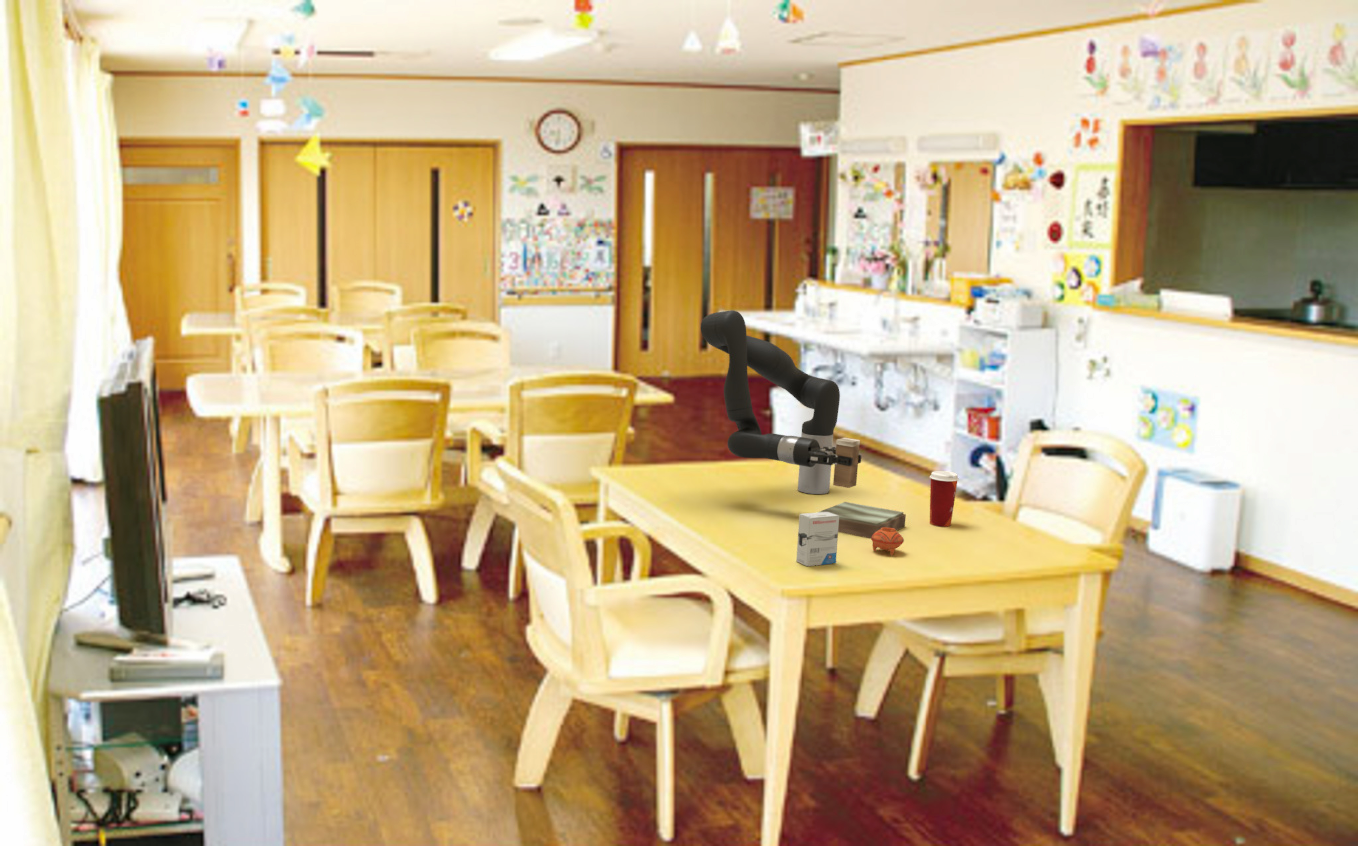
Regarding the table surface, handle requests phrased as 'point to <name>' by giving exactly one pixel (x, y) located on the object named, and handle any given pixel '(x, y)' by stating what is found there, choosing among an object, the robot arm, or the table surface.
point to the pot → (887, 539)
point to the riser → (865, 519)
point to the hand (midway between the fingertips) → (856, 460)
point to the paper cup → (942, 497)
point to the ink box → (817, 538)
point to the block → (843, 473)
